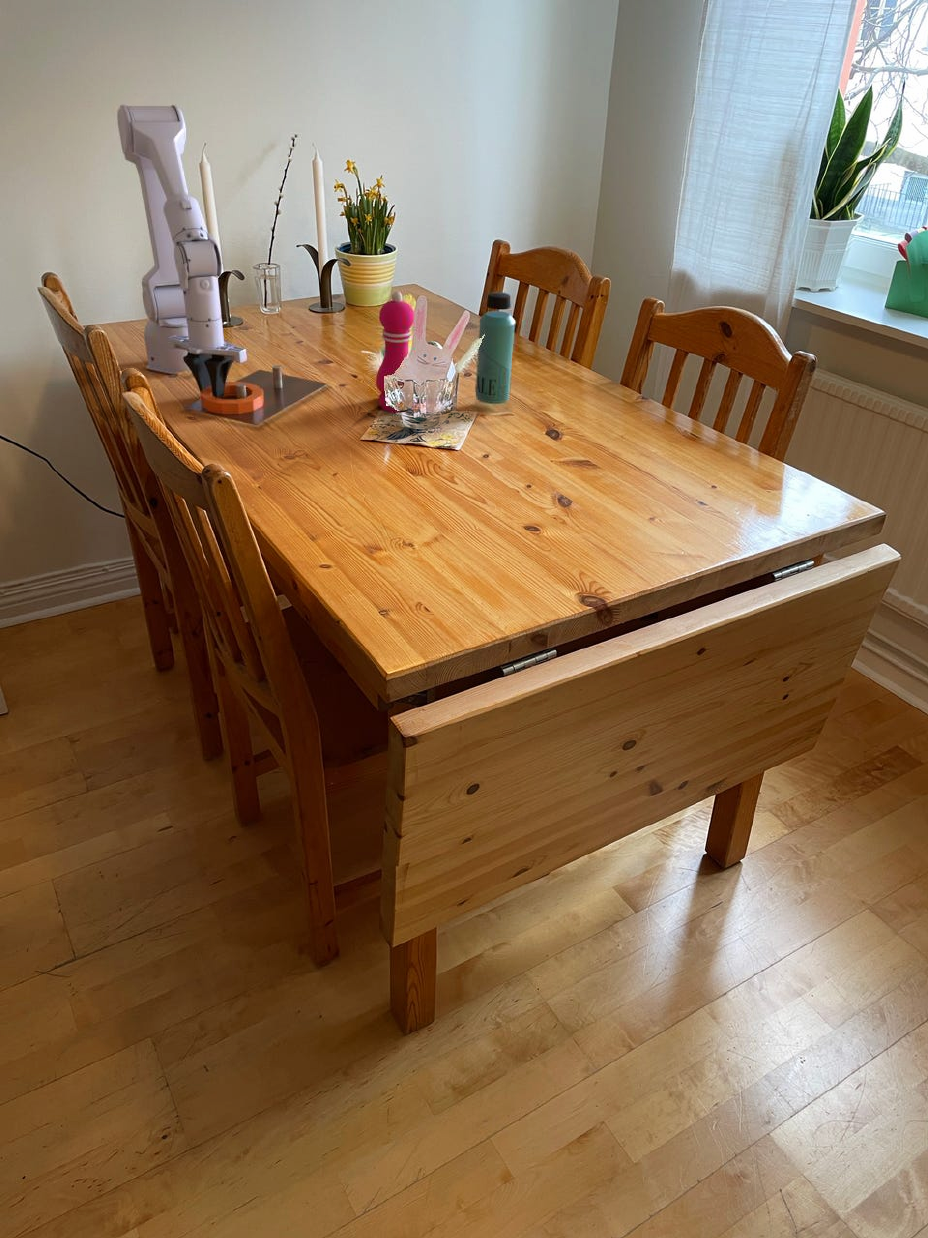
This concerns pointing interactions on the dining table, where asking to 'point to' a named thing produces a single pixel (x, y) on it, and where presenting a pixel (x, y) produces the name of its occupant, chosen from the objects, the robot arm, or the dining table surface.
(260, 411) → the peg board
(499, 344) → the beverage bottle
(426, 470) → the dining table surface
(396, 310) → the pepper mill
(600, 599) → the dining table surface
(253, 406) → the ring
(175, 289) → the robot arm
